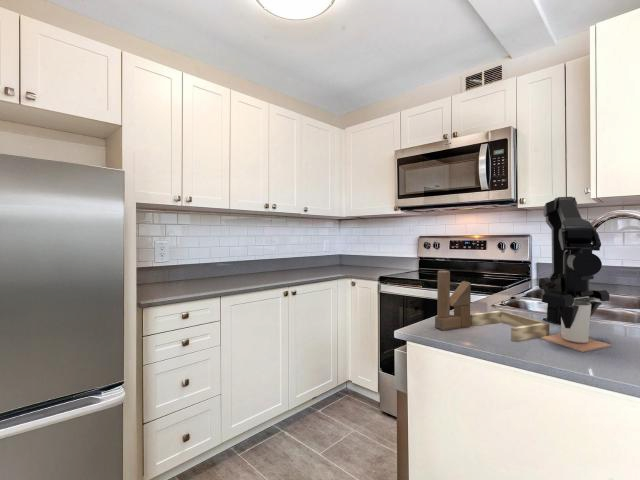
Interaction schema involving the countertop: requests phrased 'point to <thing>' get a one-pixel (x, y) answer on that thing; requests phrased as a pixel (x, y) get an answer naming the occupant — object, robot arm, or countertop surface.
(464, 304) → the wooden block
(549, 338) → the terracotta mat
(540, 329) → the beige angled bar
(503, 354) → the countertop surface
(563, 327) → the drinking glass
